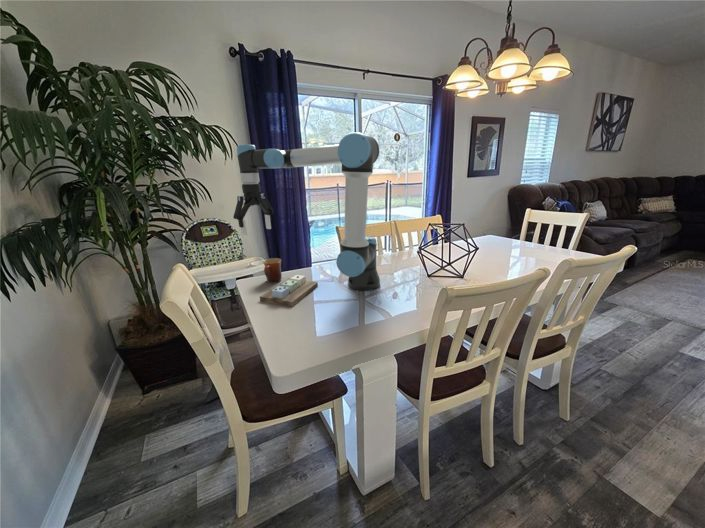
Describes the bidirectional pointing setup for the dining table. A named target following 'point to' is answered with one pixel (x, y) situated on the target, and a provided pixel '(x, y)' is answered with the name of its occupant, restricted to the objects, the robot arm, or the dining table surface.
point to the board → (290, 294)
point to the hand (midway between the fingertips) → (257, 231)
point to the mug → (272, 269)
